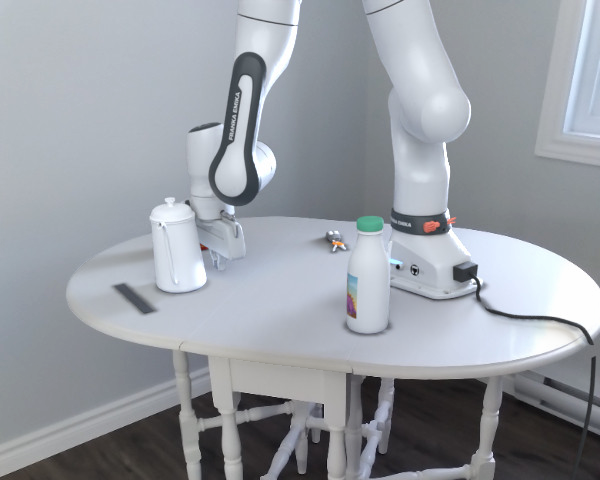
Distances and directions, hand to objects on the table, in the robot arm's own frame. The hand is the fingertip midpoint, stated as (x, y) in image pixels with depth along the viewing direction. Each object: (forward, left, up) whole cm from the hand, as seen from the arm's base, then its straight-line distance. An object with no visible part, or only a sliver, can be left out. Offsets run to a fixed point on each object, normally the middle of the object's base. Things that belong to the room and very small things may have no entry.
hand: (220, 268), depth 142 cm
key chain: (+3, -34, -2) cm, 34 cm away
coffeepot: (0, +9, -2) cm, 10 cm away
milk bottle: (-40, -11, -2) cm, 41 cm away
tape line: (0, +20, -2) cm, 20 cm away
